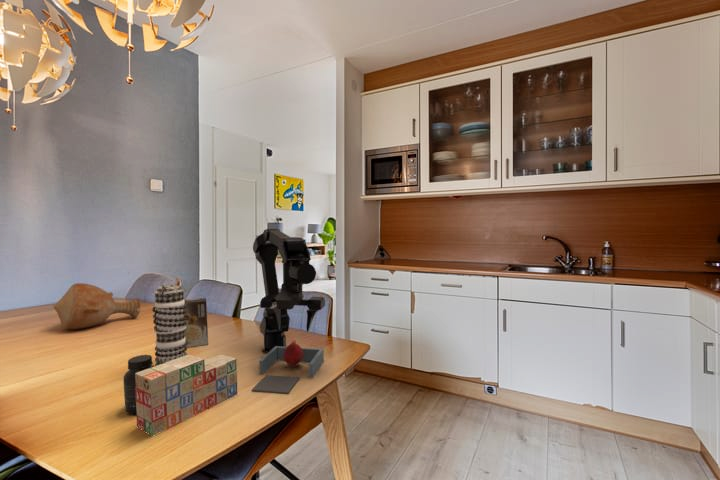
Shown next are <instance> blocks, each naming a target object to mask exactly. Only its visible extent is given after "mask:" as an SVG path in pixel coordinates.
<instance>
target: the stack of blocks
mask: <svg viewBox="0 0 720 480" xmlns="http://www.w3.org/2000/svg"><path fill="white" fill-rule="evenodd" d="M237 369H238V367H237V358H234V357H232V356H228V355H224V354H219V355H218V354H217V356H213V357H211V358H208V359H205V358H203V357H198V356H195V355H192V354H188V353H187V355H186V356H183V357H180V358H177V359H174V360H171V361H168V362H166V363H163V364H160V365H158V366H154V367H152V368H149V369H146V370H143V371H140V372H137V373H135V380H136V387H135V395H136V396H135V397H136V409H137V415H136V428H137V427H138V428H140V429H142V430H143V431H145V432H147V433H149V434H150V435H152V436H153V435H155V436H157V435H158V434H157V433H159V432H161V433H163V432H165V431H167V430H169V429H168V428H170V429H172V428H173V426H174V427H175V426H178V425H179V424H181V423H183V422H186V421H187V420H189V419H191V418H193V417H194V416H196V415H198V414H200V413H202V412H204V411H206V410H208V409H210V408H212V407H213V406H216V405H218V404H219V403H221V402H224V401H225V400H228V399H229V398H232V397H233V396H235V395H237V394H238V370H237ZM171 427H172V428H171ZM138 428H137V429H138ZM140 429H139V430H140ZM166 429H167V430H166ZM142 430H141V431H142ZM164 430H165V431H164ZM143 431H142V432H143ZM162 431H163V432H162ZM145 432H144V433H145ZM147 433H146V434H147ZM149 434H148V435H149ZM156 434H157V435H156ZM159 434H160V433H159ZM150 435H149V436H150ZM152 436H151V437H152ZM153 437H154V436H153Z"/></svg>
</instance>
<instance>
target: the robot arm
mask: <svg viewBox="0 0 720 480" xmlns="http://www.w3.org/2000/svg"><path fill="white" fill-rule="evenodd" d="M252 250H253V251H252V252H253V253H254V256H255V259H256V261H258V262H259V264H260V265H261V271H262V272H261V273H262V279H263V280H262V281H263V286H264V294H265V295H264V297H262V298H261V299H260V302H259V305H260V308H262V309H264V311H263V312H262V316H263V317H262V320H261V322H260V324H259V331H260V333H261V334H262V335H263V344H264V345H263V349H262V350H261V352H262V353H268V352H270V351H271V350H272V349H273V348H274V347H275V346H281V347H287V336H286V335H285V333H286V332H287V333H288V332H289V329H290V323H291V322H290V321H291V318H290V316H289V314H288V310H292V309H293V308H294V307H295V306H300V307H302V306H304V307H307V308H308V309H307V310H306V314H307V316H306V332H309V331H310V329H311V326H312V323H313V321H314V318H315V315H316V313H318V312H319V311H321V310H322V309H324V307H325V306H326V298H325V297H324V296H311V297H310V298H308V299H304V296H305V295H304V294H303V286H304V285H308V284H311V283H312V282H314V281H315V279H316V276H317V271H316V268H315V267H314V265H312V264H310V261H311V252H310V250H309V248H308V244H307V243H306V241H305V239H304V238H303V237H299V236H298V237H297V236H290V235H288V234H286V233H284V232H282V231H281V230H280V229H279V228H266V229H264V230H263V232H262V233H260V234H259V235H258V236H257V237H255V239H254V242H253V244H252ZM278 255H280V257H281V259H282V260H281V264H282V284H281V289H280V290H279V281H278V276H277V269H276V268H277V267H276V259H277V257H278Z"/></svg>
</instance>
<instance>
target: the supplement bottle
mask: <svg viewBox="0 0 720 480" xmlns="http://www.w3.org/2000/svg"><path fill="white" fill-rule="evenodd" d="M153 363H154V362H153V356H152V355H150V354H141V355H136V356H133V357H130V358H129V359H128V360H127V371H126V372H125V373H124V375H123V394H124V395H123V396H124V410H125V412H126V414H128V415H132V416H137V409H136V397H135V396H136V395H135V387H136V380H135V373H137V372H140V371H143V370H146V369H149V368H152V367H155V366H154V365H153Z"/></svg>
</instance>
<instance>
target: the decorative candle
mask: <svg viewBox="0 0 720 480" xmlns="http://www.w3.org/2000/svg"><path fill="white" fill-rule="evenodd" d="M185 290H186V289H184V288H182V286H181V285H179V284H165V285H160V286H158V288H157V289H156V290H155V291H154V292H153V293H154V294H155V295H154V297H155V300H154V306H153V307H152V310H151V311H152V312H153V313H154V314H152V318H153V320H152V321H153V322H152V323H153V324H154V325H155V326H154V327H153V330H154V333H155V334H156V338H155V339H156V341H155V347H154V350H155V352H154V355H155V358H154V361H155V364H154V365H155V366H158V365H160V364H163V363H166V362H168V361H171V360H174V359H177V358H180V357H183V356H186V355H188V353H187V350H188V347H187V348H186V347H185V346H186V345H187V343H186V342H185V335H184V334H185V331H184V329H186V326H185V325H186V324H187V323H186V322H184V321H185V320H186V319H187V318H186V317H184V314H186V313H187V311H185V310H184V309H186V308H187V306H185V305H184V304H185V301H184V300H185V299H184V291H185ZM155 366H154V367H155Z"/></svg>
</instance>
